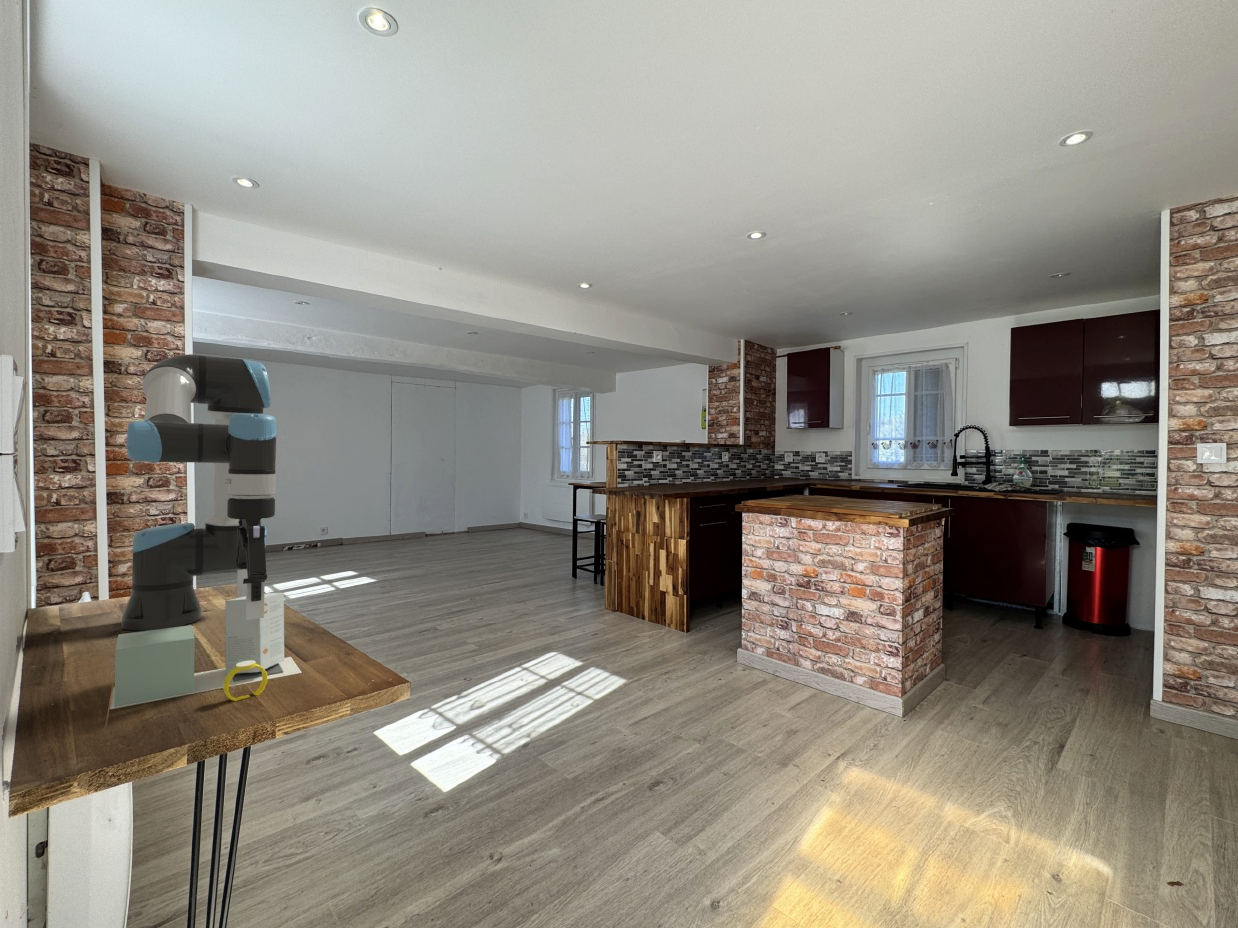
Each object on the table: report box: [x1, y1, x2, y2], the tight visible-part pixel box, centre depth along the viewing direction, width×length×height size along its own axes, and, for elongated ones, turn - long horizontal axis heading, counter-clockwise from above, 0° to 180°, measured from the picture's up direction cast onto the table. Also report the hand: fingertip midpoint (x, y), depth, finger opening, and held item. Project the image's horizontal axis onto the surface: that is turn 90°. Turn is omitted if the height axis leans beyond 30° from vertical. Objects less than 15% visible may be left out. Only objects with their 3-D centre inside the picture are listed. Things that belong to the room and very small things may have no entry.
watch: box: [222, 660, 269, 702], centre depth 95 cm, size 6×3×6 cm, turn 141°
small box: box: [224, 592, 285, 674], centre depth 107 cm, size 8×6×13 cm
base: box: [109, 656, 303, 710], centre depth 102 cm, size 11×26×1 cm, turn 129°
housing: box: [114, 624, 196, 707], centre depth 97 cm, size 10×10×9 cm
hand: (249, 609), depth 108 cm, fingers open, 13 cm apart
